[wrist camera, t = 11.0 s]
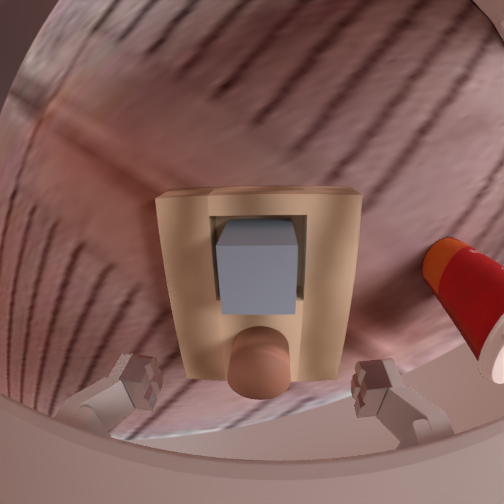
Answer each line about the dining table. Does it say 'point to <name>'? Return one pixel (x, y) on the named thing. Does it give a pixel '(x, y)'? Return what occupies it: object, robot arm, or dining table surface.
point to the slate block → (258, 266)
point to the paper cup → (470, 299)
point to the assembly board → (261, 326)
